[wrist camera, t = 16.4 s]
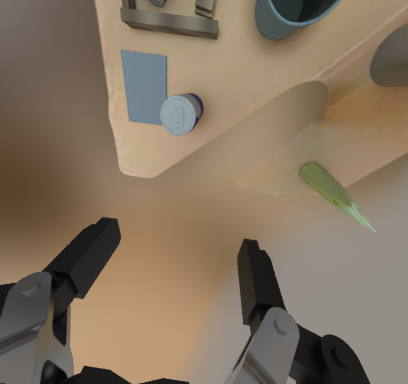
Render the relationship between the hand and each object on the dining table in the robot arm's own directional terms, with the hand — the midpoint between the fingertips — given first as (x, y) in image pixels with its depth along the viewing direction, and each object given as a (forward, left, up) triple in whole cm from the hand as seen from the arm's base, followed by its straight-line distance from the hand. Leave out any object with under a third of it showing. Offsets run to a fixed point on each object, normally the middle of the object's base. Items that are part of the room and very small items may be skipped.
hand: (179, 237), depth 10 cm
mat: (+14, -6, -34) cm, 37 cm away
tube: (-28, +7, -34) cm, 45 cm away
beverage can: (+4, -4, -34) cm, 35 cm away
